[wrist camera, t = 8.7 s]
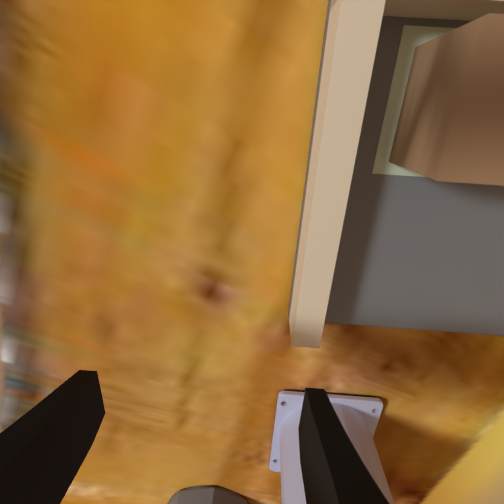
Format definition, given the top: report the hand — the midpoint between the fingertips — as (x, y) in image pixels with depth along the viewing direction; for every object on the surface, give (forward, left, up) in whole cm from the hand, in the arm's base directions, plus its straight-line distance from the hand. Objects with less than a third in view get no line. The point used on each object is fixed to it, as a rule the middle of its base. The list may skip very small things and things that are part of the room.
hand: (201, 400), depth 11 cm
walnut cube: (+10, -11, -9) cm, 17 cm away
